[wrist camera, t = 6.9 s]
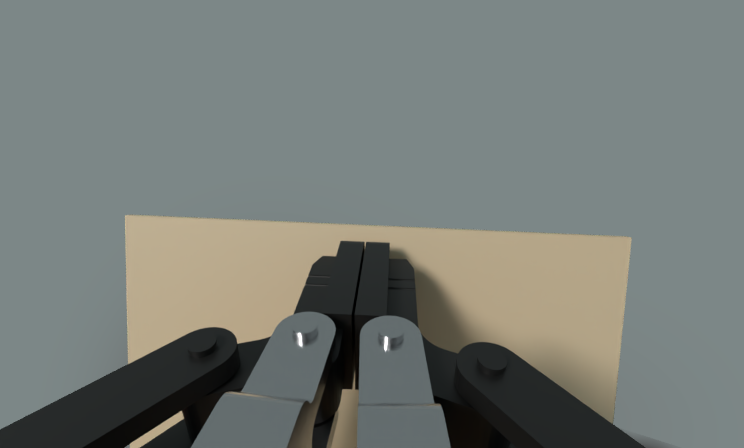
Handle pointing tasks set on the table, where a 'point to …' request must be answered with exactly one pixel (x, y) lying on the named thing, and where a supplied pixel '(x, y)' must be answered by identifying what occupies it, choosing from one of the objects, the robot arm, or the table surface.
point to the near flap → (432, 281)
